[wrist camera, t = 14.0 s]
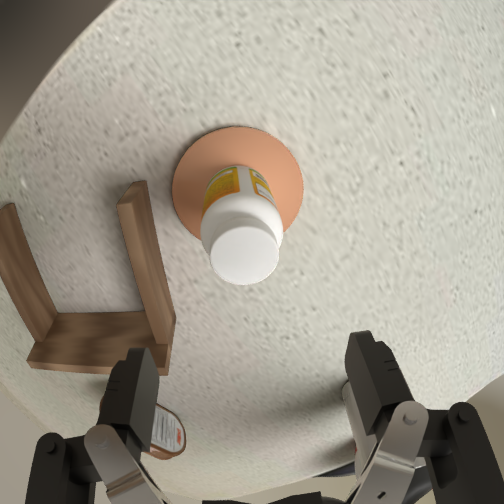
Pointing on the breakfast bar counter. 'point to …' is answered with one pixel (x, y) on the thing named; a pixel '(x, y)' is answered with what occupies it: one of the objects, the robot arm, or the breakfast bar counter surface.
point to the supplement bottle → (241, 226)
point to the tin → (165, 434)
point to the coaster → (233, 154)
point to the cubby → (93, 324)
